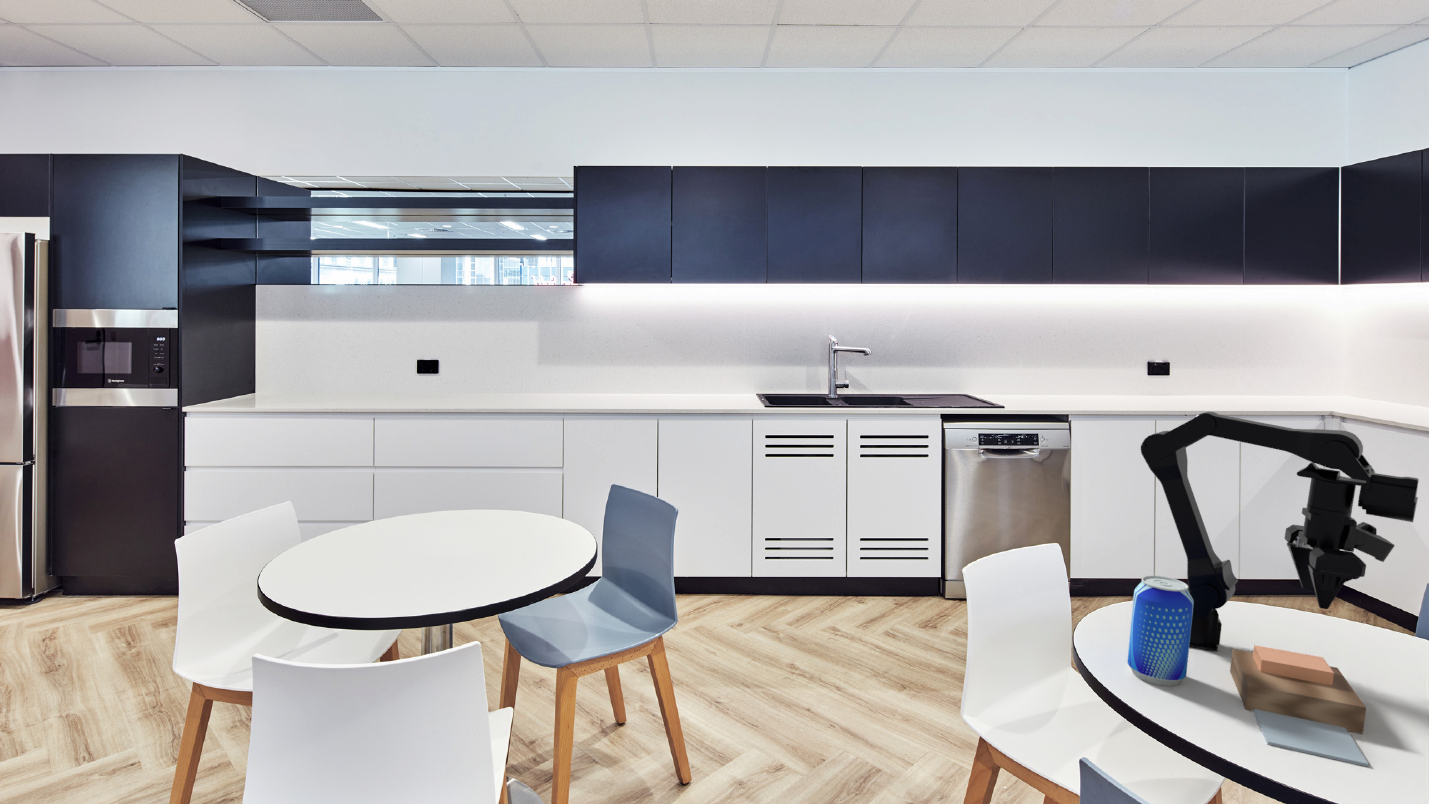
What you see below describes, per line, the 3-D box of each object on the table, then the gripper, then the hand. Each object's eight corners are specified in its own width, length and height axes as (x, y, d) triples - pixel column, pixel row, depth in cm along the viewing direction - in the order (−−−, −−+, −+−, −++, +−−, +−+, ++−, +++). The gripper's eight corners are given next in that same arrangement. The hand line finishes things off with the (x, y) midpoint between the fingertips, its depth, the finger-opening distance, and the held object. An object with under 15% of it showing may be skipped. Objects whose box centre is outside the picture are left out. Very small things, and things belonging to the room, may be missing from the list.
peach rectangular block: (1260, 671, 118) (1261, 659, 118) (1252, 656, 124) (1254, 645, 124) (1332, 685, 115) (1333, 672, 114) (1321, 669, 120) (1322, 657, 120)
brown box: (1245, 709, 115) (1248, 684, 114) (1229, 671, 127) (1232, 648, 127) (1362, 734, 109) (1366, 707, 108) (1334, 691, 121) (1337, 667, 121)
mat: (1267, 744, 105) (1267, 741, 105) (1253, 711, 114) (1253, 708, 114) (1368, 766, 101) (1368, 763, 100) (1345, 730, 109) (1345, 727, 109)
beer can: (1181, 670, 127) (1191, 578, 125) (1188, 693, 119) (1198, 595, 118) (1125, 660, 131) (1133, 570, 129) (1128, 680, 123) (1137, 586, 121)
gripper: (1416, 530, 112) (1399, 630, 114) (1369, 501, 129) (1355, 589, 131) (1324, 518, 116) (1308, 615, 119) (1290, 492, 133) (1277, 577, 135)
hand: (1314, 598), depth 126 cm, fingers open, 9 cm apart
